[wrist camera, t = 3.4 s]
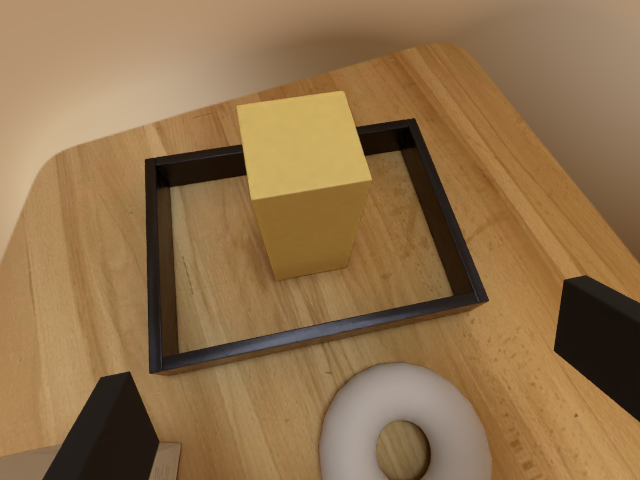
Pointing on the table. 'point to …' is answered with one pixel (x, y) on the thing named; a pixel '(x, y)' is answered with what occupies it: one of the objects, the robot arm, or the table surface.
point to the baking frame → (169, 362)
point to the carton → (305, 180)
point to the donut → (410, 405)
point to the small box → (30, 467)
